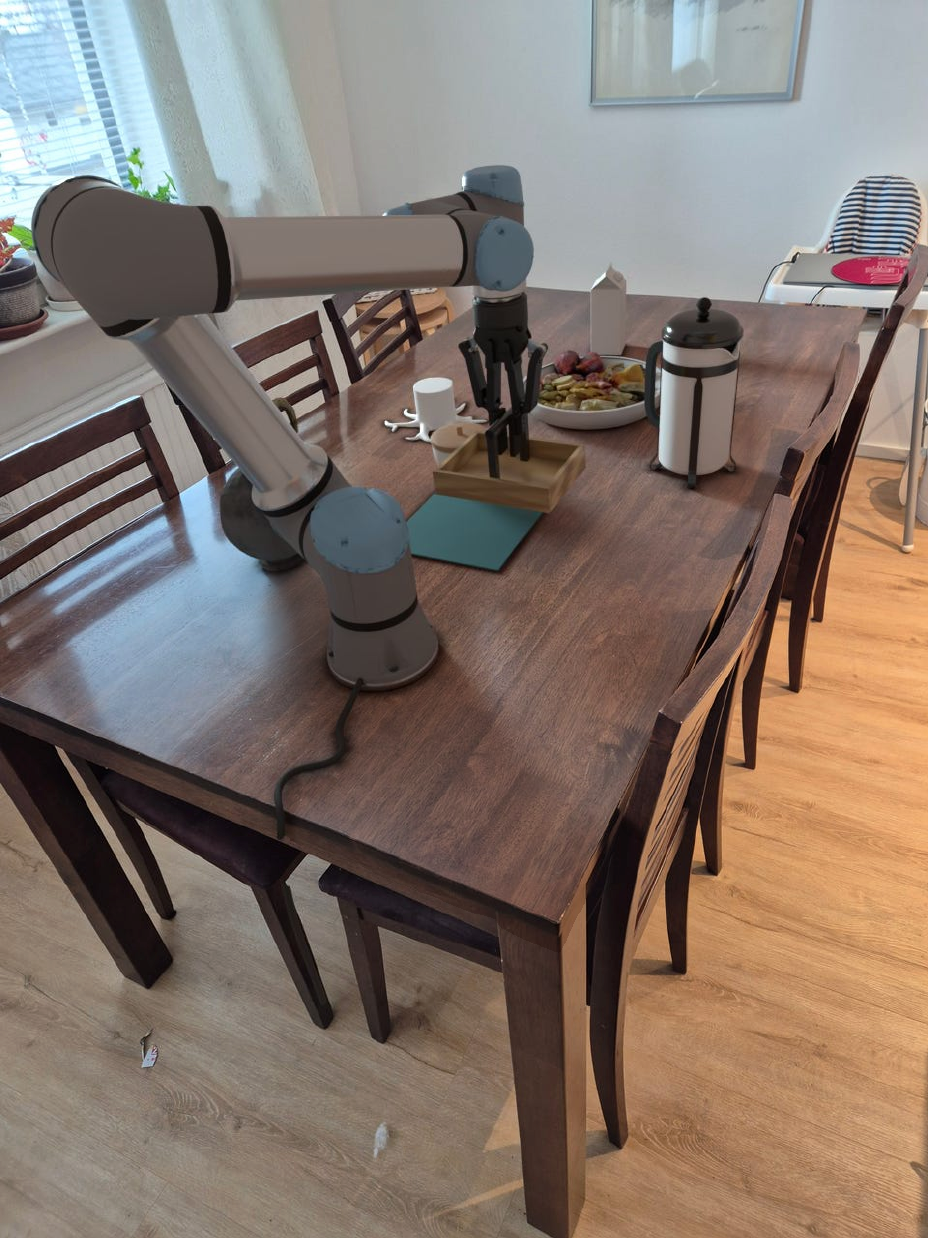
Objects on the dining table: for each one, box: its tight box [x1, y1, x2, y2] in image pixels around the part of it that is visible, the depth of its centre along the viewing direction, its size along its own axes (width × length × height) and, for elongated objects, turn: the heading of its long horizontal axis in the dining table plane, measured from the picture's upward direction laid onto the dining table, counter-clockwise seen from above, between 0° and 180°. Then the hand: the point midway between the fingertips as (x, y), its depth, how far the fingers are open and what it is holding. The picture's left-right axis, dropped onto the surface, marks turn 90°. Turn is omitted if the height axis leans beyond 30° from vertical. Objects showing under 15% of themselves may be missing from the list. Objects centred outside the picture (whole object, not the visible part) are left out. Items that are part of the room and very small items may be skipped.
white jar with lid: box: [430, 423, 488, 467], centre depth 157 cm, size 11×11×9 cm
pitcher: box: [219, 383, 304, 572], centre depth 134 cm, size 11×19×30 cm, turn 156°
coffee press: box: [644, 296, 745, 489], centre depth 145 cm, size 17×16×30 cm
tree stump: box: [384, 377, 488, 444], centre depth 177 cm, size 20×19×8 cm
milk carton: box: [589, 261, 627, 356], centre depth 198 cm, size 7×7×19 cm
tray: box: [432, 406, 587, 514], centre depth 131 cm, size 15×19×11 cm
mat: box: [406, 493, 544, 572], centre depth 144 cm, size 20×21×1 cm
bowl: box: [523, 349, 662, 431], centre depth 177 cm, size 30×30×8 cm
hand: (509, 451), depth 131 cm, fingers closed on tray, 2 cm apart
